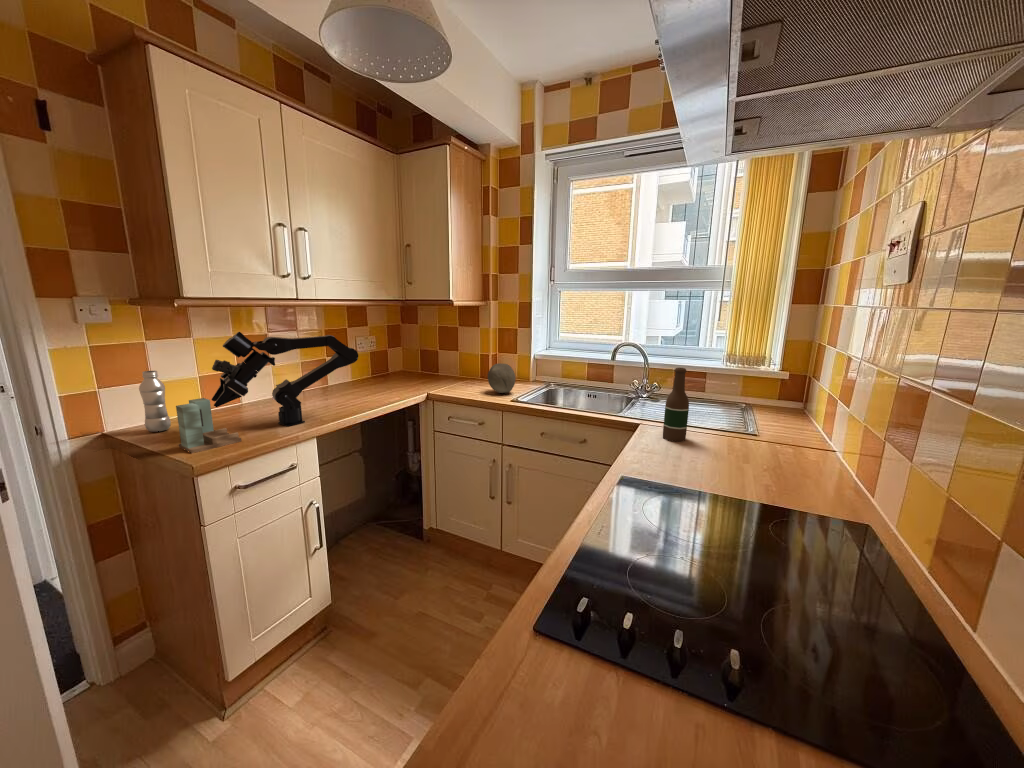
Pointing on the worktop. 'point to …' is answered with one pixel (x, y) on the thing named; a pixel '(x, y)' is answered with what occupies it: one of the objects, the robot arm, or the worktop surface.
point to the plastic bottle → (154, 402)
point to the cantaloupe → (501, 378)
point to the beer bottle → (676, 410)
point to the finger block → (204, 413)
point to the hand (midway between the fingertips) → (213, 403)
